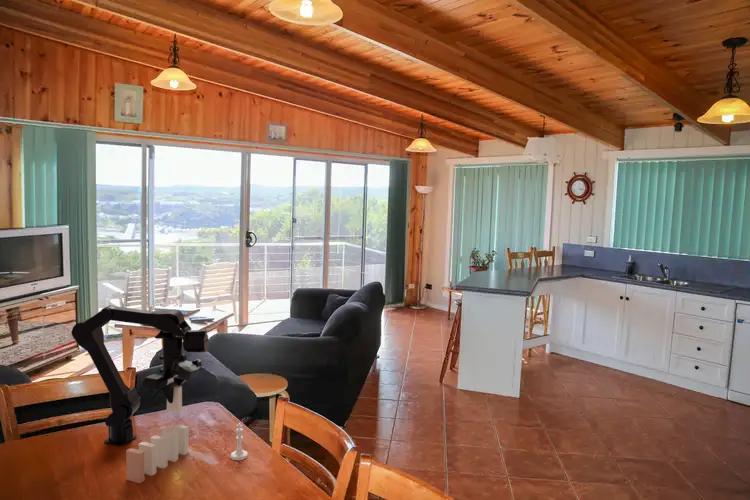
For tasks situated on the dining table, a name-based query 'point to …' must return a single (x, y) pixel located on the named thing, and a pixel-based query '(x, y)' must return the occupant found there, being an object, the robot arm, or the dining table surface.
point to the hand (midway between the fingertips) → (173, 401)
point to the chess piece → (239, 445)
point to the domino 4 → (176, 400)
